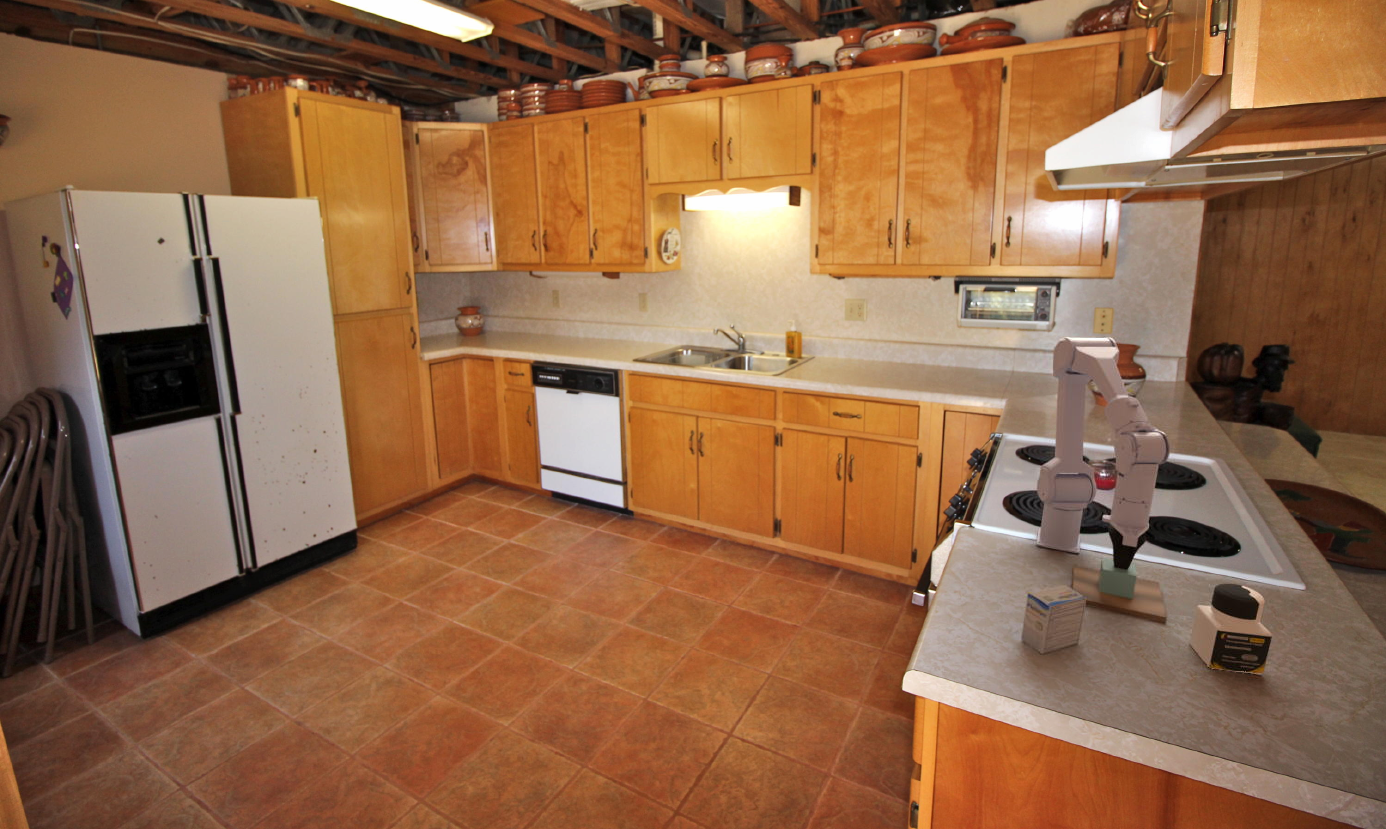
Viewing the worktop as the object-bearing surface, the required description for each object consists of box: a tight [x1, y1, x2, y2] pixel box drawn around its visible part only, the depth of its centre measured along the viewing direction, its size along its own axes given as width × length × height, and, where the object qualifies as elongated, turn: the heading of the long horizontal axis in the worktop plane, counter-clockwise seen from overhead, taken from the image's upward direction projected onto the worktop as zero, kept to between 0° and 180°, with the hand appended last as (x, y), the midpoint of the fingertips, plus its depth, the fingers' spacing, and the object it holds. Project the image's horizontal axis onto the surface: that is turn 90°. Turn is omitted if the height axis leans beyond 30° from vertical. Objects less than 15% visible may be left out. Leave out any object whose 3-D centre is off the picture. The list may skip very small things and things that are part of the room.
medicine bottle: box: [1189, 583, 1273, 674], centre depth 105 cm, size 7×7×12 cm
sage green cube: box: [1098, 557, 1138, 599], centre depth 126 cm, size 5×5×4 cm
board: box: [1072, 565, 1167, 624], centre depth 126 cm, size 14×14×1 cm
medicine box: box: [1021, 584, 1086, 655], centre depth 110 cm, size 8×4×9 cm, turn 111°
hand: (1120, 567), depth 125 cm, fingers closed, pressing on sage green cube
